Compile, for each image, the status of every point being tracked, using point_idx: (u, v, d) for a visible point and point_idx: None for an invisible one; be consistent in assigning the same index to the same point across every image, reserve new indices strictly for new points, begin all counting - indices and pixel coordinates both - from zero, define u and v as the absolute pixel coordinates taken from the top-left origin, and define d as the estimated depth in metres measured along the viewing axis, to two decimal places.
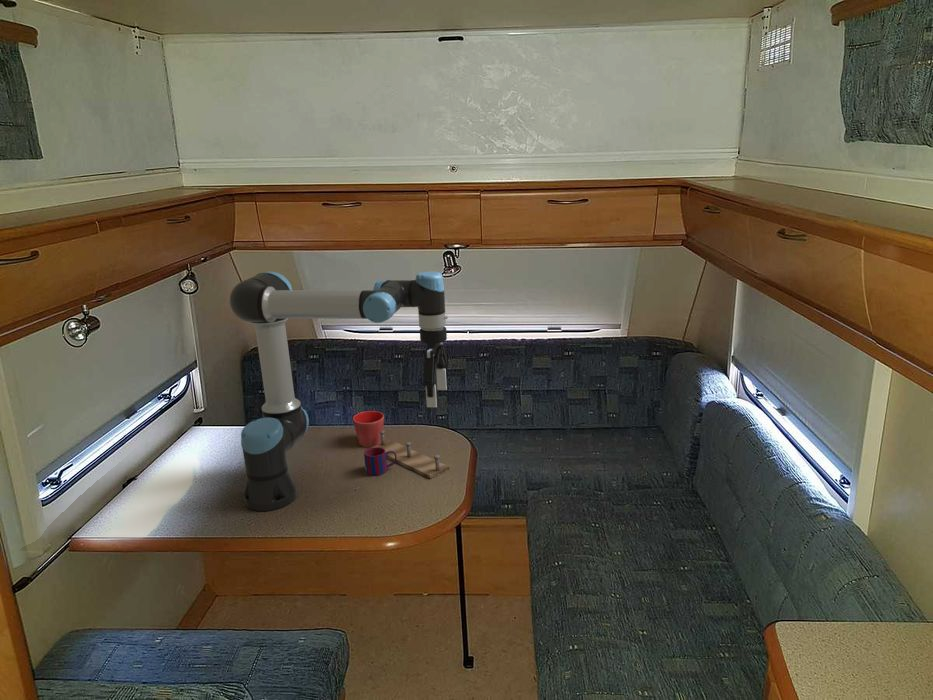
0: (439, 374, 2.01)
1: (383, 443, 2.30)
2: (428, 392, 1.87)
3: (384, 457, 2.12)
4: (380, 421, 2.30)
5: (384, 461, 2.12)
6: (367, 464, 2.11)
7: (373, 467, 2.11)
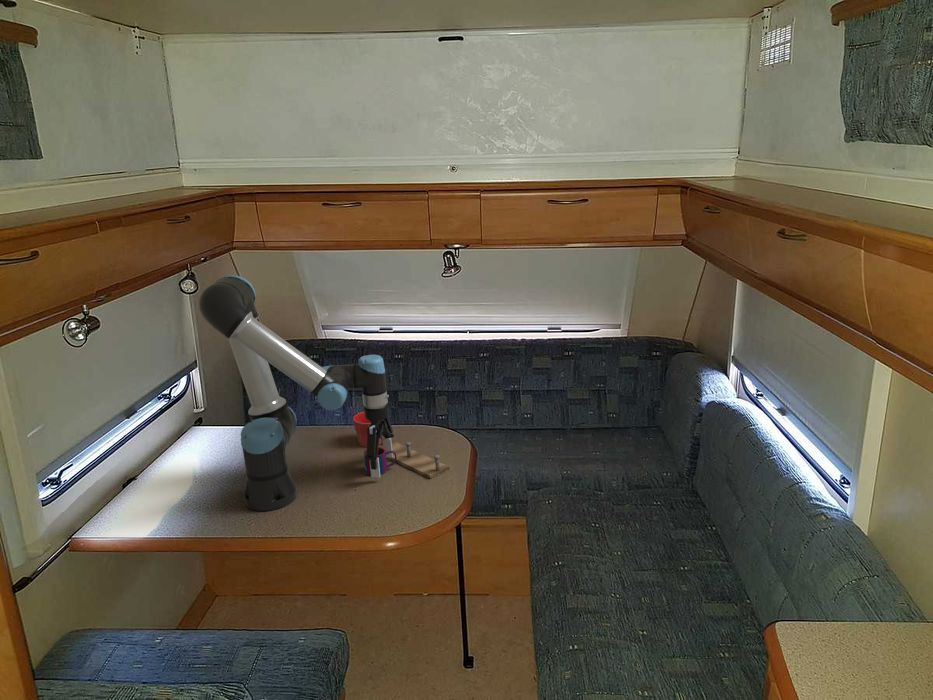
0: (385, 443, 2.19)
1: None
2: (371, 465, 2.05)
3: (384, 457, 2.12)
4: None
5: (384, 461, 2.12)
6: (367, 464, 2.11)
7: None
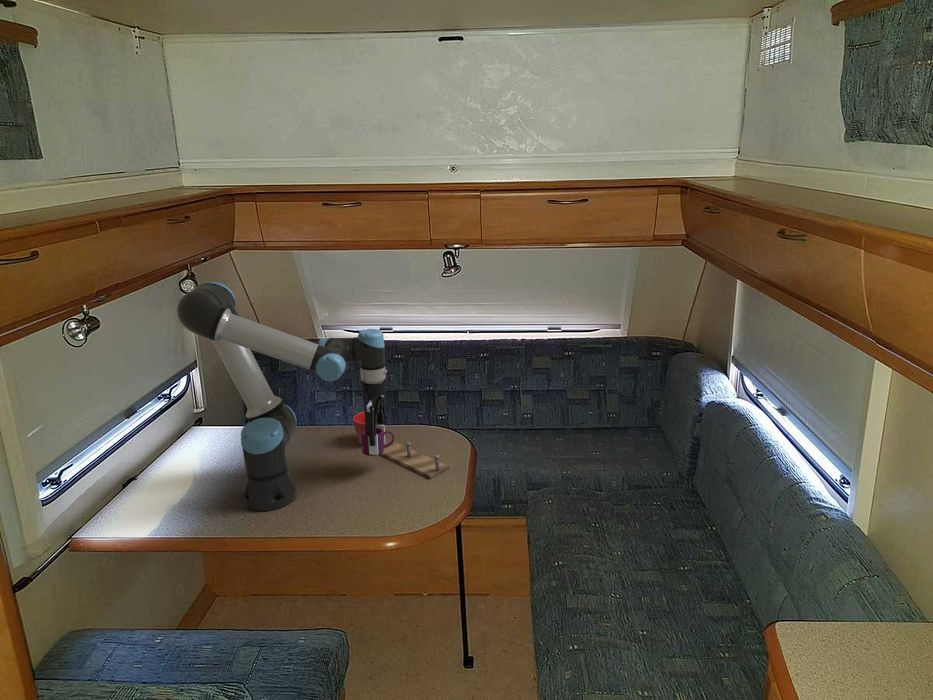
0: None
1: None
2: (370, 441, 2.06)
3: (381, 437, 2.10)
4: None
5: (381, 441, 2.11)
6: (364, 444, 2.10)
7: None
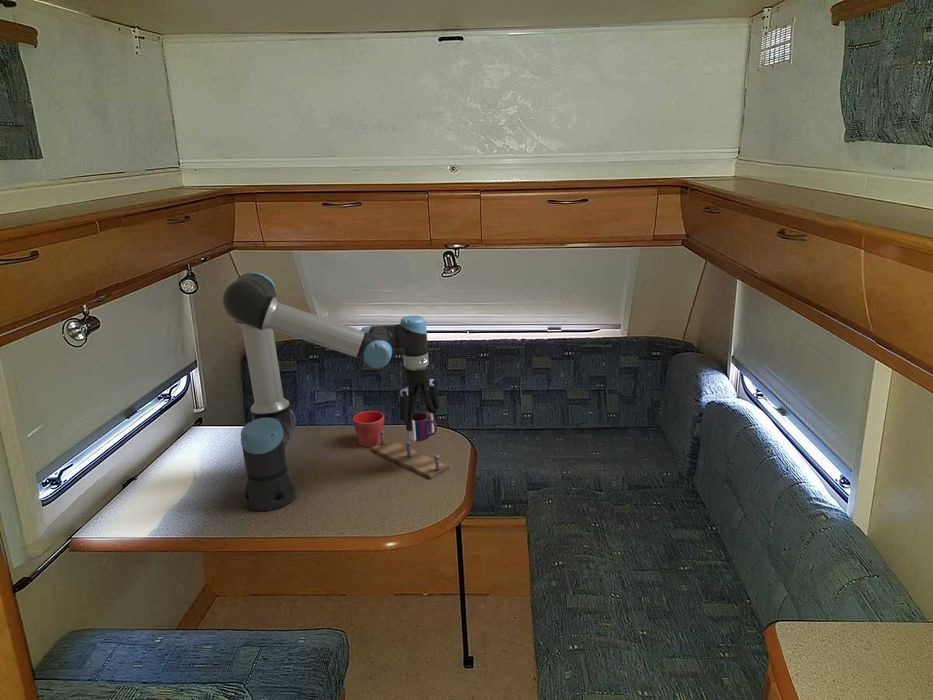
0: None
1: (383, 443, 2.30)
2: (406, 426, 2.08)
3: (422, 425, 2.10)
4: (380, 421, 2.30)
5: (422, 428, 2.10)
6: None
7: None
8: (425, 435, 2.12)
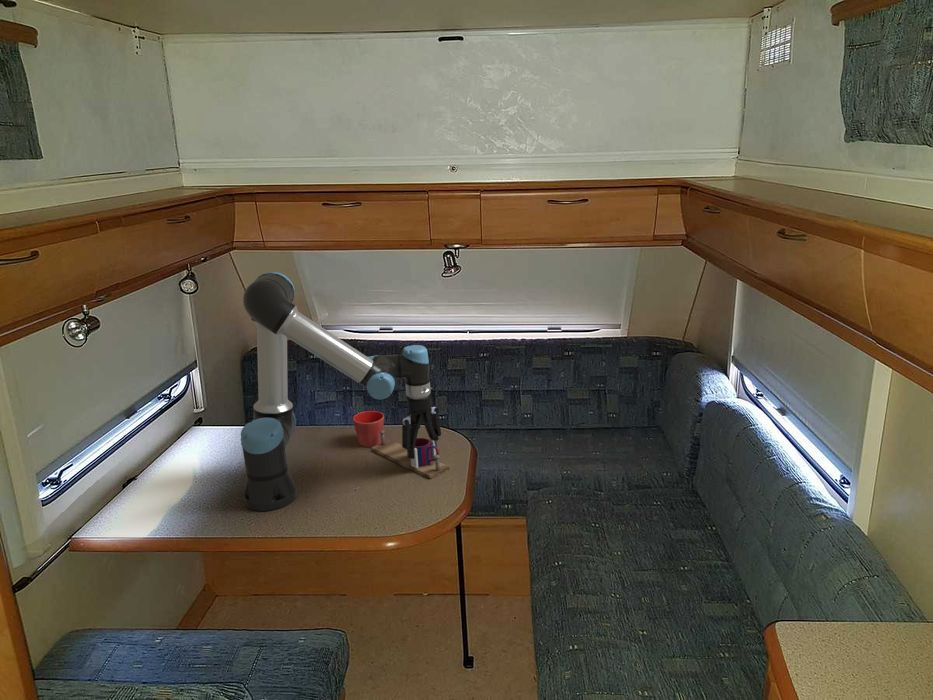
0: None
1: (383, 443, 2.30)
2: (409, 453, 2.11)
3: (424, 450, 2.13)
4: (380, 421, 2.30)
5: (424, 454, 2.13)
6: None
7: None
8: (427, 460, 2.14)
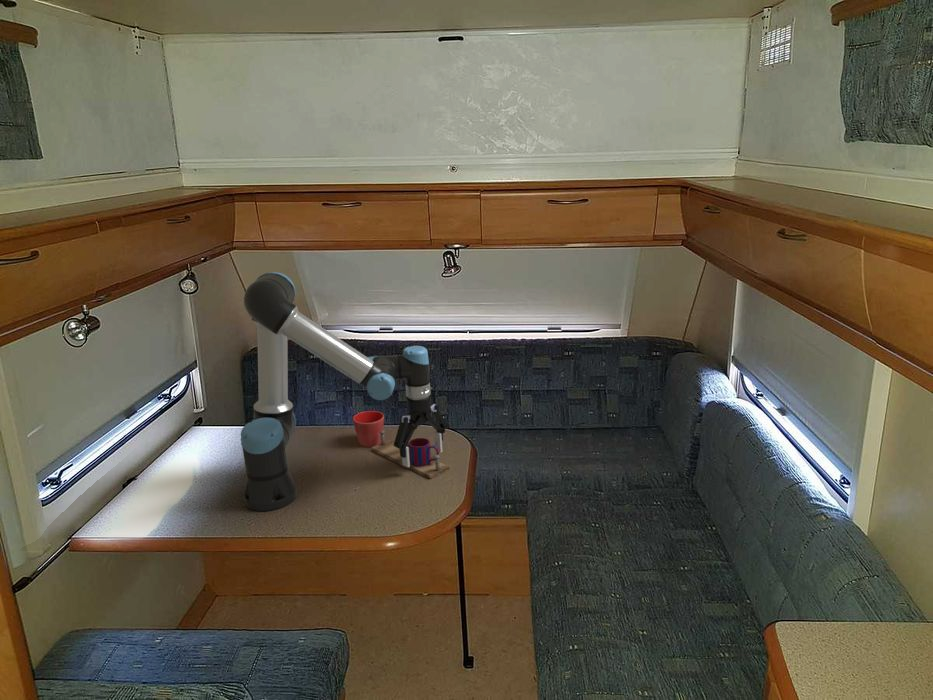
0: (436, 437, 2.18)
1: (383, 443, 2.30)
2: (400, 452, 2.09)
3: (424, 450, 2.13)
4: (380, 421, 2.30)
5: (424, 454, 2.13)
6: (409, 452, 2.15)
7: (412, 457, 2.14)
8: (427, 460, 2.14)
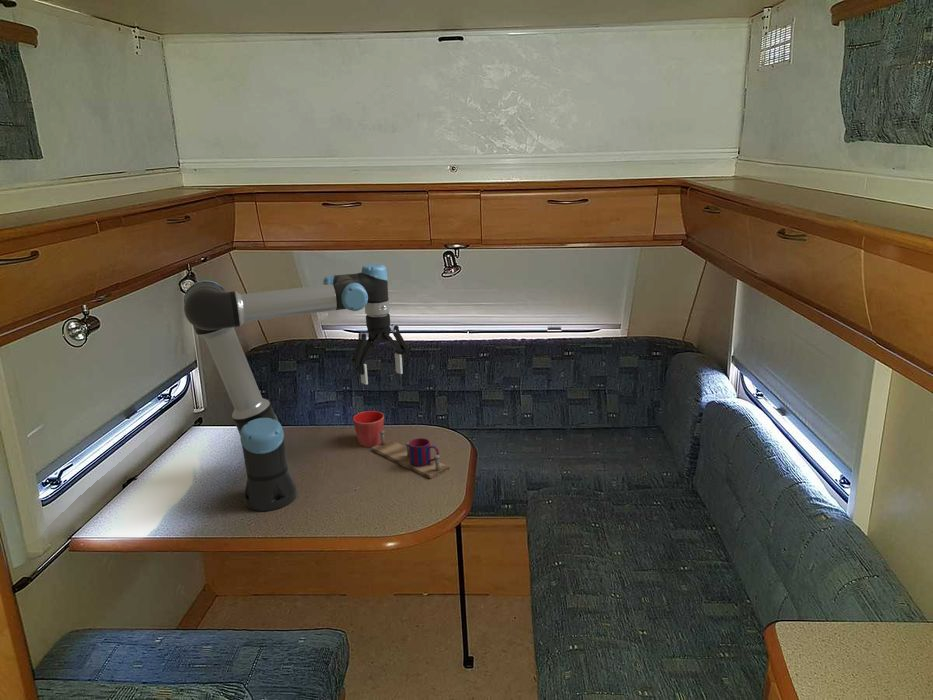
0: (396, 358, 2.21)
1: (383, 443, 2.30)
2: (358, 369, 2.12)
3: (424, 450, 2.13)
4: (380, 421, 2.30)
5: (424, 454, 2.13)
6: (409, 452, 2.15)
7: (412, 457, 2.14)
8: (427, 460, 2.14)
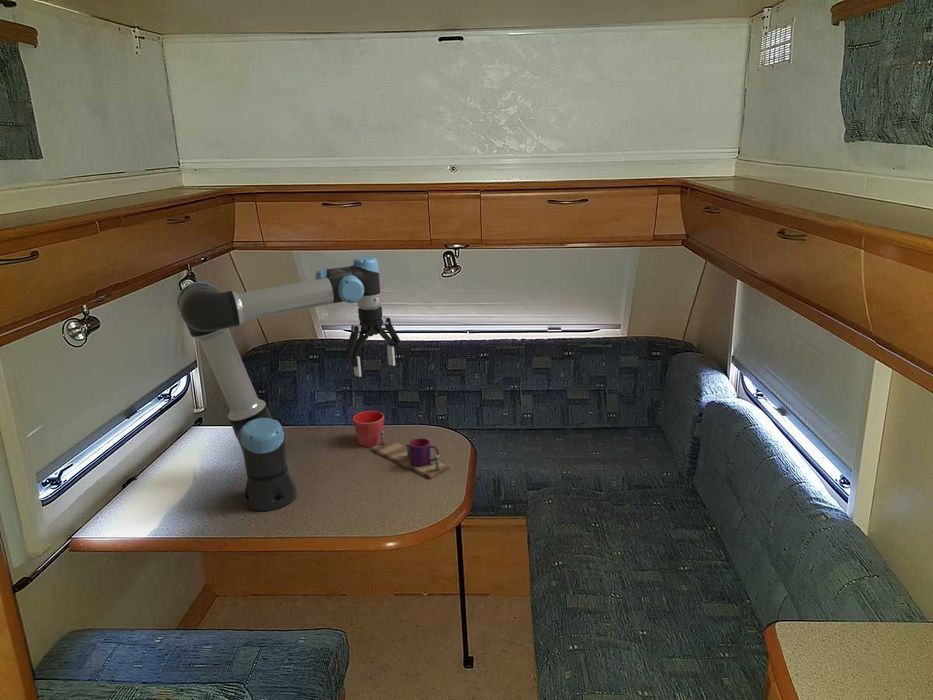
0: (389, 350, 2.23)
1: (383, 443, 2.30)
2: (352, 362, 2.13)
3: (424, 450, 2.13)
4: (380, 421, 2.30)
5: (424, 454, 2.13)
6: (409, 452, 2.15)
7: (412, 457, 2.14)
8: (427, 460, 2.14)
